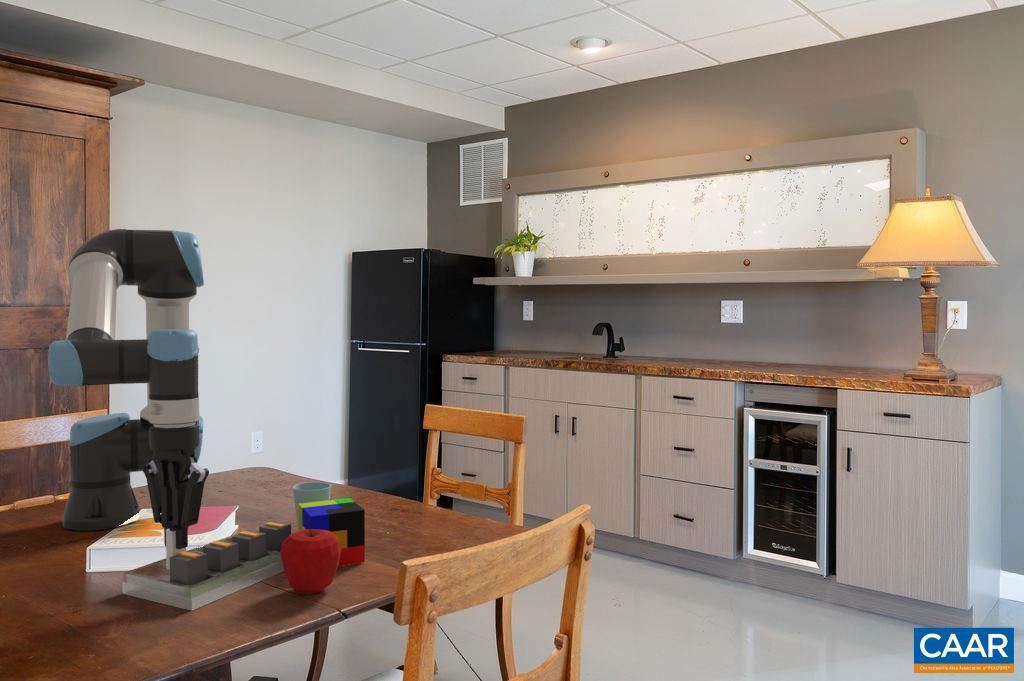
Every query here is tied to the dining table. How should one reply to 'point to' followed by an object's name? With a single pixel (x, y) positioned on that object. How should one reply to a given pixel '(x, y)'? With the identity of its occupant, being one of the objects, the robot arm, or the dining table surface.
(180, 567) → the block
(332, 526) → the puzzle toy
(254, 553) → the block
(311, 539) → the apple
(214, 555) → the block
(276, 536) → the block
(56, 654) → the dining table surface
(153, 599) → the panel
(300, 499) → the cup
